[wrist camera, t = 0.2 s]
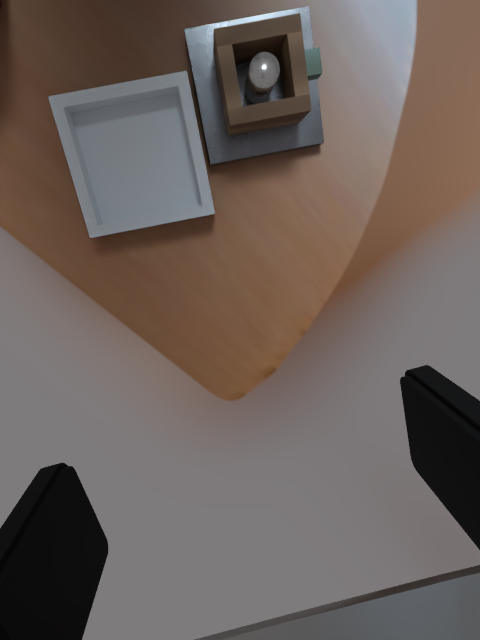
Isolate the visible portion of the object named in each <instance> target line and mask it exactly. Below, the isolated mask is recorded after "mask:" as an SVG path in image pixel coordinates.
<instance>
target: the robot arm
mask: <svg viewBox="0 0 480 640" xmlns="http://www.w3.org/2000/svg"><path fill="white" fill-rule="evenodd" d="M400 384H401V391H402V398H403V405H404V412H405V419H406V426H407V433H408V439H409V447H410V454H411V460H412V462H413V465H414V467H415V469H416V471H417V472H418V473H419V474H420V476H421V477H422V478H423V479H424V481H425V482H426V483H427V484H428V486H429V487H430V488H431V490H432V491H433V492H434V493H435V495H436V496H437V497H438V498H439V500H440V501H441V502H442V503H443V505H444V506H445V507H446V508H447V510H448V511H449V512H450V513H451V515H452V516H453V517H454V518H455V520H456V521H457V522H458V523H459V525H460V526H461V527H462V528H463V529H464V531H465V532H466V533H467V535H468V536H469V537H470V538H471V540H472V541H473V542H474V543H475V545H476V546H477V547H478V548H479V550H480V401H479V400H478V399H476V398H475V397H473V396H472V395H470V394H469V393H468V392H466V391H465V390H463V389H462V388H460V387H459V386H457V385H456V384H455V383H453V382H452V381H450V380H449V379H447V378H446V377H445V376H443V375H442V374H440V373H439V372H437V371H436V370H435V369H433V368H432V367H430V366H428V365H425V366H421V367H418V368H414V369H411V370H407V371H406V372H405V377H402V378H401V379H400ZM107 555H108V542H107V539H106V536H105V534H104V532H103V530H102V528H101V525H100V523H99V521H98V519H97V517H96V514H95V512H94V510H93V508H92V506H91V504H90V501H89V499H88V497H87V495H86V493H85V491H84V488H83V486H82V484H81V482H80V480H79V478H78V475H77V473H76V471H75V469H74V468H73V467H72V466H69V467H68V465H66V464H65V463H59V464H56V465H52V466H48V467H45V468H42V469H40V471H39V472H38V473H37V475H36V476H35V478H34V479H33V481H32V482H31V484H30V485H29V487H28V488H27V490H26V491H25V492H24V494H23V495H22V497H21V499H20V500H19V502H18V503H17V504H16V506H15V507H14V509H13V510H12V512H11V513H10V515H9V517H8V518H7V519H6V521H5V522H4V524H3V525H2V527H1V528H0V640H82V637H83V634H84V631H85V627H86V624H87V621H88V617H89V614H90V611H91V608H92V604H93V600H94V597H95V594H96V591H97V588H98V585H99V581H100V578H101V575H102V571H103V568H104V565H105V561H106V558H107ZM195 640H480V565H478V566H474V567H470V568H466V569H462V570H458V571H453V572H449V573H445V574H441V575H437V576H433V577H429V578H425V579H421V580H417V581H414V582H410V583H406V584H402V585H398V586H395V587H391V588H387V589H383V590H379V591H375V592H372V593H368V594H364V595H360V596H357V597H353V598H349V599H346V600H341V601H338V602H334V603H330V604H326V605H322V606H318V607H314V608H311V609H307V610H303V611H300V612H296V613H292V614H288V615H285V616H281V617H277V618H273V619H270V620H266V621H262V622H258V623H255V624H251V625H247V626H243V627H240V628H236V629H233V630H229V631H225V632H222V633H218V634H214V635H210V636H206V637H203V638H200V639H195Z"/></svg>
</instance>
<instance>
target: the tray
mask: <svg viewBox="0 0 480 640" xmlns="http://www.w3.org/2000/svg"><path fill="white" fill-rule="evenodd" d="M48 98H49V102H50V105H51V109H52V112H53V115H54V119H55V122H56V125H57V129H58V132H59V135H60V139H61V142H62V146H63V149H64V152H65V156H66V159H67V162H68V166H69V169H70V173H71V176H72V179H73V183H74V186H75V189H76V193H77V196H78V199H79V203H80V206H81V210H82V213H83V216H84V220H85V223H86V226H87V230H88V233H89V237H90V238H94V237H99V236H104V235H109V234H114V233H119V232H125V231H130V230H135V229H140V228H145V227H150V226H155V225H161V224H166V223H171V222H176V221H181V220H186V219H191V218H196V217H202V216H207V215H212V214H215V211H214V206H213V201H212V195H211V190H210V185H209V180H208V175H207V170H206V165H205V160H204V155H203V150H202V145H201V140H200V135H199V130H198V125H197V120H196V115H195V109H194V104H193V99H192V94H191V89H190V84H189V79H188V74H187V71H182V72H176V73H171V74H166V75H160V76H155V77H150V78H144V79H139V80H134V81H128V82H123V83H117V84H112V85H107V86H101V87H96V88H91V89H85V90H80V91H75V92H69V93H64V94H59V95H53V96H48Z"/></svg>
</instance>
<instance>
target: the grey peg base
mask: <svg viewBox="0 0 480 640" xmlns="http://www.w3.org/2000/svg"><path fill="white" fill-rule="evenodd" d="M297 13H300V16H301V24H302V33H303V41H304V50H308V49H314V48H313V39H312V30H311V21H310V12H309V6H307V7H301V8H296V9H291V10H285V11H280V12H274V13H269V14H263V15H258V16H253V17H247V18H242V19H236V20H231V21H225V22H220V23H215V24H209V25H204V26H198V27H193V28H187V29H184V30H185V37H186V42H187V47H188V52H189V57H190V62H191V67H192V73H193V78H194V83H195V88H196V93H197V98H198V104H199V109H200V114H201V119H202V124H203V129H204V134H205V140H206V145H207V150H208V155H209V160H210V165H211V166H212V165H217V164H222V163H228V162H233V161H238V160H243V159H248V158H254V157H259V156H264V155H269V154H274V153H280V152H285V151H290V150H295V149H300V148H306V147H311V146H316V145H321V144H322V143H324V139H323V130H322V121H321V112H320V102H319V93H318V84H317V79H315V80H310V81H308V84H309V93H310V101H311V111H310V112H309V113H308V114H307V115H306V116H305V117H304V118H303V119H302V120H301V121H300V122H299V123H294V124H289V125H284V126H279V127H273V128H268V129H263V130H258V131H252V132H247V133H242V134H237V135H231V136H228V133H227V127H226V122H225V116H224V110H223V105H222V99H221V94H220V88H219V82H218V77H217V71H216V65H215V60H214V54H213V34H214V29H216V28H222V27H227V26H232V25H238V24H243V23H249V22H254V21H259V20H265V19H270V18H276V17H281V16H287V15H292V14H297ZM235 66H236V72H237V78H238V84H239V91H240V97H241V103H242V107H243V106H248V105H254V104H259V103H264V102H270V101H275V100H280V99H283V93H282V86H281V78H280V66H279V62H278V57H275V56H274V55H273V54H271V53H268V52H261V53H258V54H257V55H256V56H255V57H254V58H253V59H252V61H251V62H245V63H240V64H235Z"/></svg>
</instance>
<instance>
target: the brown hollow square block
mask: <svg viewBox="0 0 480 640" xmlns="http://www.w3.org/2000/svg"><path fill="white" fill-rule="evenodd" d="M261 52H268V53H271V54H273V55H274V56H275V57H278V62H279V66H280V78H281V86H282V93H283V99H280V100H275V101H270V102H264V103H259V104H254V105H248V106H243V107H242V103H241V97H240V91H239V84H238V78H237V72H236V66H235V64H240V63H245V62H251V61H252V59H253V58H254V57H255V56H256V55H257V54H258V53H261ZM213 54H214V60H215V65H216V71H217V77H218V82H219V88H220V94H221V99H222V105H223V110H224V116H225V122H226V127H227V133H228V136H231V135H237V134H242V133H247V132H252V131H258V130H263V129H268V128H273V127H279V126H284V125H289V124H294V123H299V122H300V121H301V120H302V119H303V118H304V117H305V116H306V115H307V114H308V113H309V112H310V111H311V101H310V93H309V84H308V81H310V80H315V79H318V78H319V76H320V75H321V74H322V68H321V58H320V49H319V48H314V49H308V50H304V41H303V33H302V24H301V16H300V13H297V14H292V15H287V16H281V17H276V18H270V19H265V20H259V21H254V22H249V23H243V24H238V25H232V26H227V27H222V28H216V29H214V34H213Z"/></svg>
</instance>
